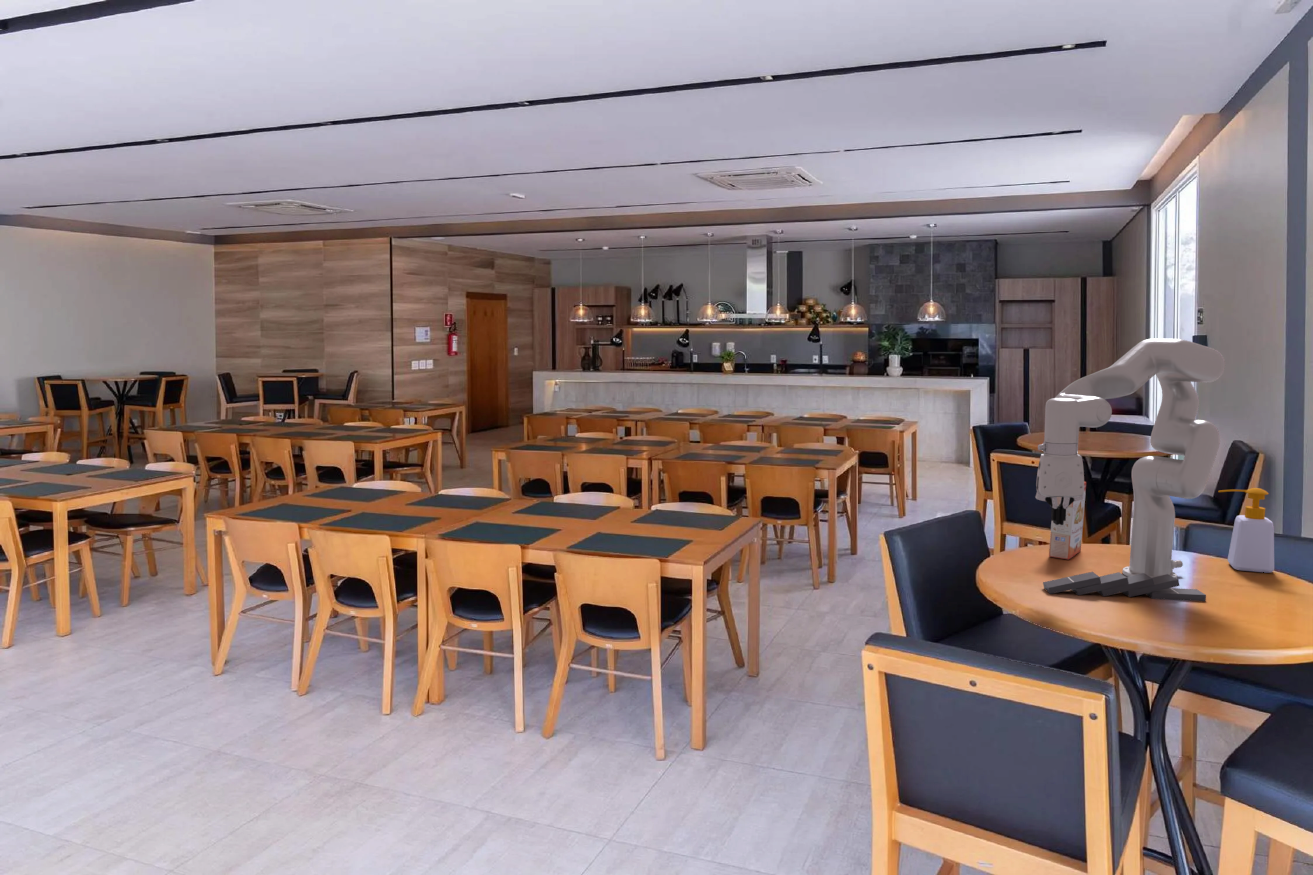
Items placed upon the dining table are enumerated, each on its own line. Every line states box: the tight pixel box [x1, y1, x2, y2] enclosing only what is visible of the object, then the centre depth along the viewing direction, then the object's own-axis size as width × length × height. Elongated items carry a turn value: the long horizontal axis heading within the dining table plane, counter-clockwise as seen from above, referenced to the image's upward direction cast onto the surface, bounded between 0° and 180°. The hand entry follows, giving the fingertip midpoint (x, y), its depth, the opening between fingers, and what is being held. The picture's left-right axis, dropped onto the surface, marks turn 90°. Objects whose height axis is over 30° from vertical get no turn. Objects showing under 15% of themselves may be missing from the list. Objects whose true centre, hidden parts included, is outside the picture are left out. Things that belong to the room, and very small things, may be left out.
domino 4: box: [1121, 574, 1180, 598], centre depth 222 cm, size 2×5×12 cm
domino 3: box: [1095, 573, 1154, 597], centre depth 223 cm, size 2×5×12 cm
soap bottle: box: [1218, 487, 1275, 574], centre depth 249 cm, size 10×14×22 cm
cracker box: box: [1048, 481, 1087, 561], centre depth 262 cm, size 14×6×21 cm, turn 142°
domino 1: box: [1042, 571, 1101, 595], centre depth 224 cm, size 2×5×12 cm
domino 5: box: [1145, 587, 1207, 602], centre depth 221 cm, size 2×5×12 cm
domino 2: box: [1071, 571, 1129, 596], centre depth 223 cm, size 2×5×12 cm
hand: (1058, 523), depth 223 cm, fingers closed
